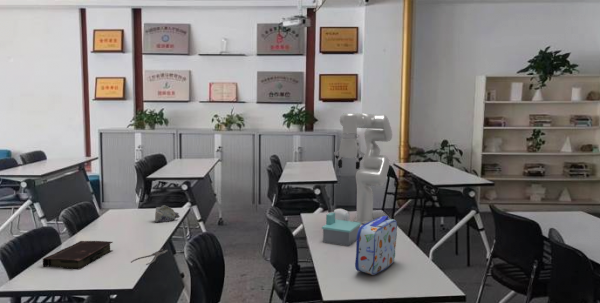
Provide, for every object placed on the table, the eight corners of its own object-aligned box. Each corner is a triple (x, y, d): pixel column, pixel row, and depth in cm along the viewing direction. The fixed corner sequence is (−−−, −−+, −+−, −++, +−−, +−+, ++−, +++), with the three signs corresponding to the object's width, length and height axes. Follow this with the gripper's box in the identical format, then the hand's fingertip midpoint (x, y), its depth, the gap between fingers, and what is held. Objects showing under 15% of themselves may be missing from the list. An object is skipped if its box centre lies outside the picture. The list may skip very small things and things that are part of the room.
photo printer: (332, 229, 254) (332, 208, 253) (337, 228, 257) (338, 206, 256) (345, 233, 247) (345, 211, 245) (350, 232, 249) (351, 210, 248)
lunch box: (377, 256, 211) (378, 210, 209) (399, 260, 206) (400, 213, 203) (352, 275, 188) (352, 223, 185) (375, 280, 182) (376, 227, 180)
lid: (334, 223, 246) (334, 210, 245) (360, 227, 239) (361, 213, 239) (321, 231, 231) (322, 217, 230) (349, 235, 224) (349, 220, 224)
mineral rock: (180, 219, 275) (180, 203, 273) (172, 224, 264) (171, 207, 263) (160, 218, 277) (160, 202, 276) (151, 223, 267) (151, 206, 265)
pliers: (128, 262, 200) (149, 248, 220) (128, 264, 200) (149, 249, 220) (149, 264, 199) (168, 249, 218) (149, 266, 199) (168, 251, 219)
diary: (42, 268, 196) (41, 257, 196) (80, 250, 221) (79, 240, 220) (81, 270, 193) (80, 259, 192) (115, 251, 217) (114, 241, 217)
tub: (334, 233, 246) (335, 221, 245) (359, 237, 240) (359, 224, 239) (323, 242, 232) (323, 228, 231) (348, 246, 226) (349, 232, 225)
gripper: (367, 137, 243) (366, 168, 244) (337, 135, 250) (336, 166, 252) (362, 137, 236) (361, 170, 237) (331, 136, 244) (331, 168, 245)
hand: (348, 168), depth 245 cm, fingers open, 9 cm apart
